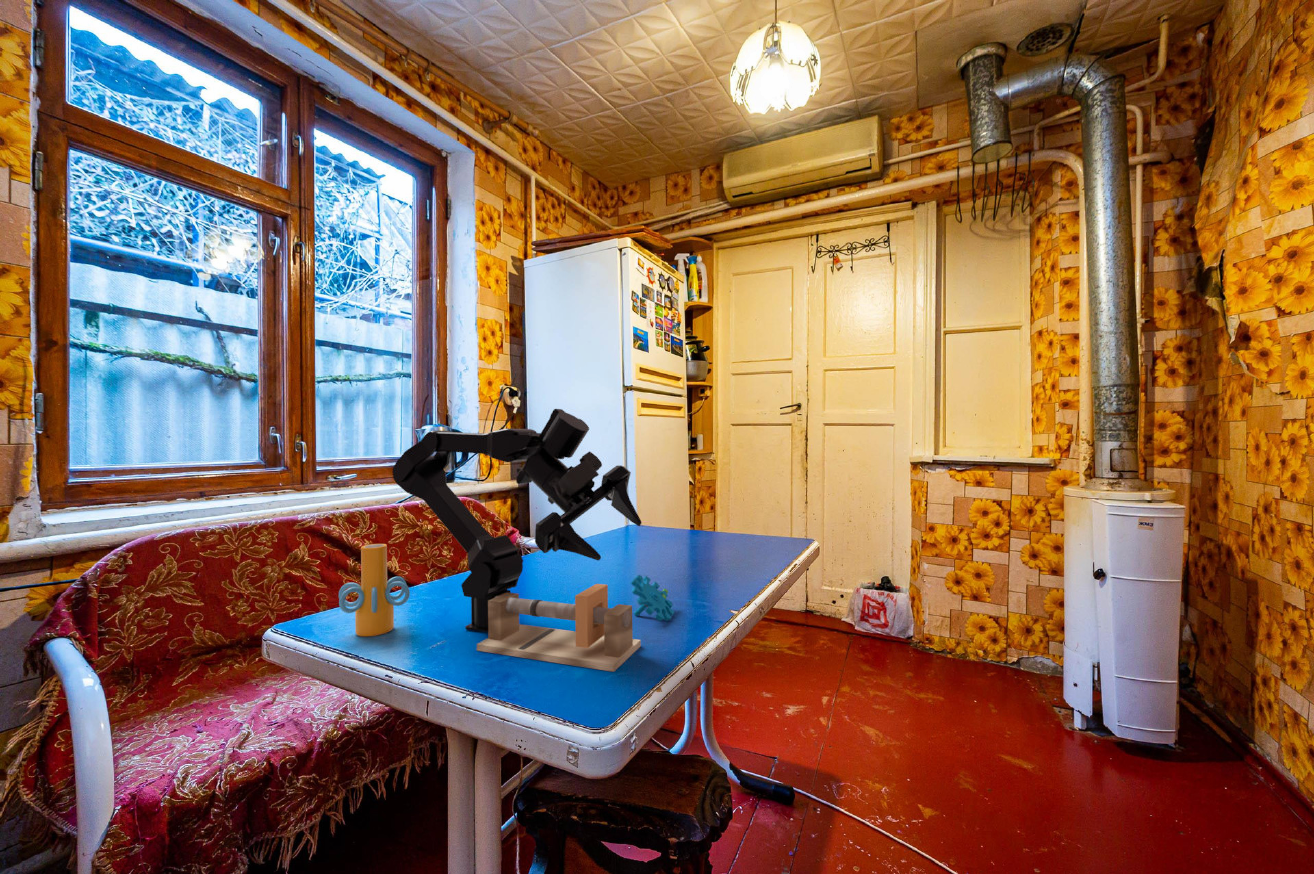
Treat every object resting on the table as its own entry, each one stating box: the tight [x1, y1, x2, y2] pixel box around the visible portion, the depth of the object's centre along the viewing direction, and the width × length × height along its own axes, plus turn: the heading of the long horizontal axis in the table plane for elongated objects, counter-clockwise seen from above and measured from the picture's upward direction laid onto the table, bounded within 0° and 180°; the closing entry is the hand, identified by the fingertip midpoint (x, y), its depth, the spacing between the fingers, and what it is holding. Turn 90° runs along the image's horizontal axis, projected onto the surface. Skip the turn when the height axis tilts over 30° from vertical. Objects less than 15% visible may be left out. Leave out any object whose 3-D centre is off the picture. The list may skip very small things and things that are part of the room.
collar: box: [574, 583, 609, 648], centre depth 83 cm, size 2×7×8 cm, turn 159°
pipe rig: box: [476, 592, 642, 672], centre depth 85 cm, size 24×10×7 cm, turn 69°
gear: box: [630, 574, 675, 622], centre depth 100 cm, size 11×6×10 cm
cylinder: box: [338, 543, 411, 637], centre depth 94 cm, size 12×10×15 cm
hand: (620, 540), depth 85 cm, fingers open, 9 cm apart
